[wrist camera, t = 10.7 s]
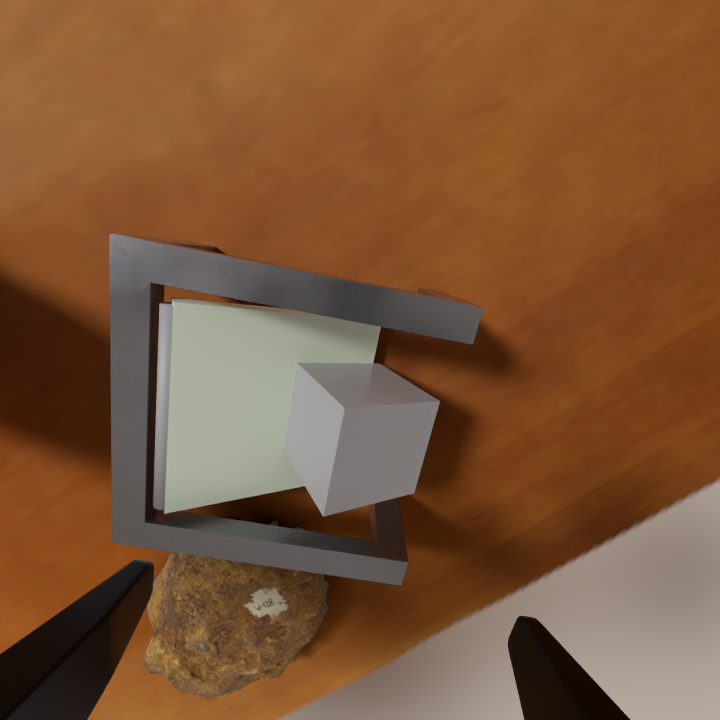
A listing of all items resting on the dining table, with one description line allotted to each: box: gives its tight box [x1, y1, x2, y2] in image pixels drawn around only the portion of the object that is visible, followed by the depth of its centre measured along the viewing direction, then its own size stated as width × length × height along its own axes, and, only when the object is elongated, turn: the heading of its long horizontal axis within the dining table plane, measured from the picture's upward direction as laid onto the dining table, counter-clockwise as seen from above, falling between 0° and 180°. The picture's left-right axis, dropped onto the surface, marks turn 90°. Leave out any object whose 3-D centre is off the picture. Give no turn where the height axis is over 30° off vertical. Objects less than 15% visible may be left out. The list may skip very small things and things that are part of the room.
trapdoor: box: [153, 297, 381, 514], centre depth 18 cm, size 10×10×1 cm
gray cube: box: [284, 363, 440, 517], centre depth 17 cm, size 5×5×5 cm
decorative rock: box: [144, 519, 330, 699], centre depth 24 cm, size 11×4×15 cm
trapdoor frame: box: [109, 233, 484, 586], centre depth 18 cm, size 14×14×6 cm
